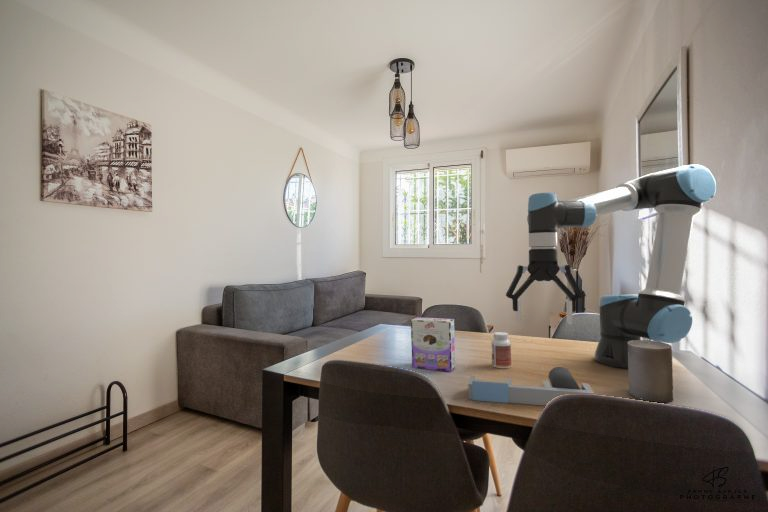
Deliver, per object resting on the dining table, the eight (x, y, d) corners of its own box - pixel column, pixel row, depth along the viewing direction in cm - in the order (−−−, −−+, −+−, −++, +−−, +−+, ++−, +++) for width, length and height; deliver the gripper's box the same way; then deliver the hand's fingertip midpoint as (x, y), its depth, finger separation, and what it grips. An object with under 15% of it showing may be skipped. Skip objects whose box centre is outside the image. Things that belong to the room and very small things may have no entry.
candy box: (455, 367, 127) (455, 318, 127) (451, 372, 122) (450, 321, 122) (417, 362, 133) (416, 316, 133) (411, 367, 128) (410, 319, 128)
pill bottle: (515, 366, 126) (514, 333, 126) (502, 370, 123) (502, 336, 123) (500, 362, 132) (499, 330, 132) (488, 365, 128) (487, 333, 128)
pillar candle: (679, 396, 99) (677, 339, 99) (664, 406, 93) (663, 345, 93) (637, 386, 107) (636, 333, 107) (621, 394, 101) (620, 338, 101)
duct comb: (588, 398, 99) (587, 379, 98) (595, 410, 91) (595, 389, 91) (470, 389, 107) (469, 371, 107) (468, 399, 100) (468, 380, 100)
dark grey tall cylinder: (548, 386, 108) (548, 365, 108) (571, 388, 106) (571, 367, 106) (555, 403, 97) (555, 379, 96) (581, 405, 95) (581, 381, 95)
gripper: (585, 247, 109) (586, 321, 109) (495, 249, 113) (496, 319, 114) (595, 247, 101) (596, 326, 102) (498, 249, 106) (499, 324, 106)
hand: (543, 323), depth 108 cm, fingers open, 13 cm apart
